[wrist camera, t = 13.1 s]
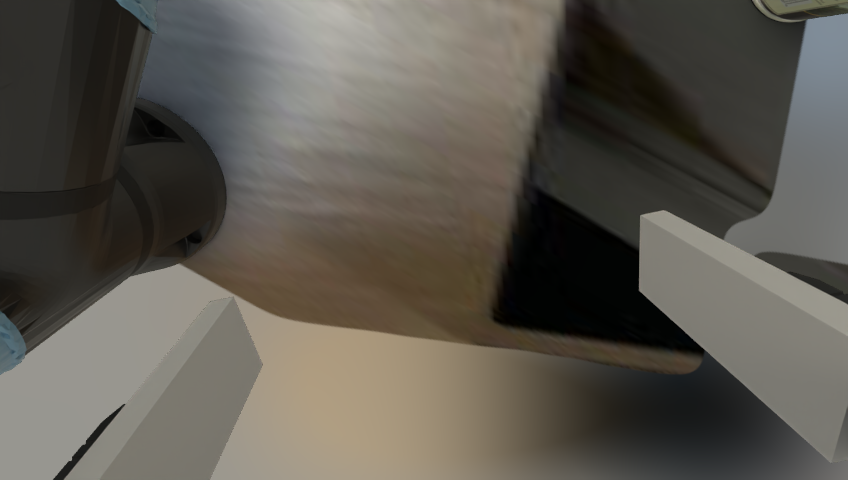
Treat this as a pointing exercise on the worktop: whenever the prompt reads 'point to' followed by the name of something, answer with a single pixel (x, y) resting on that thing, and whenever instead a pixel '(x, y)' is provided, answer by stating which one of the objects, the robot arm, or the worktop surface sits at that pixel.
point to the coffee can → (800, 9)
